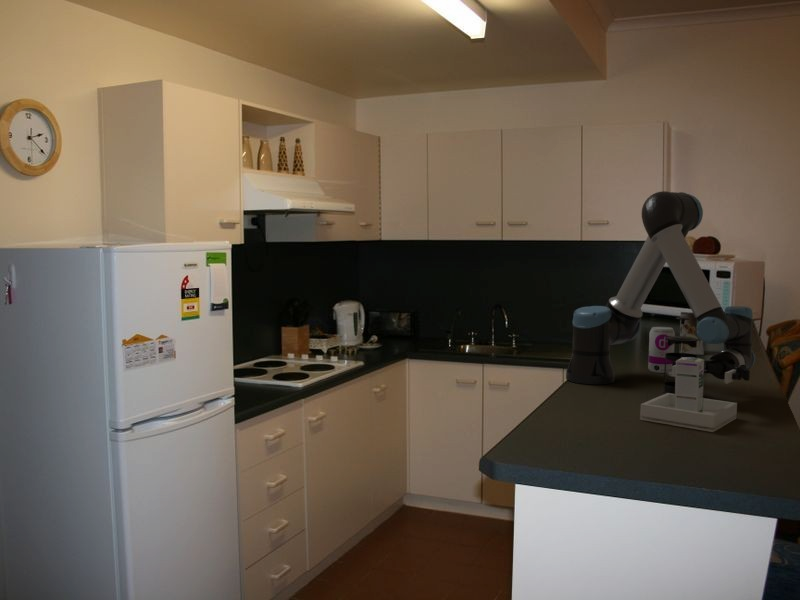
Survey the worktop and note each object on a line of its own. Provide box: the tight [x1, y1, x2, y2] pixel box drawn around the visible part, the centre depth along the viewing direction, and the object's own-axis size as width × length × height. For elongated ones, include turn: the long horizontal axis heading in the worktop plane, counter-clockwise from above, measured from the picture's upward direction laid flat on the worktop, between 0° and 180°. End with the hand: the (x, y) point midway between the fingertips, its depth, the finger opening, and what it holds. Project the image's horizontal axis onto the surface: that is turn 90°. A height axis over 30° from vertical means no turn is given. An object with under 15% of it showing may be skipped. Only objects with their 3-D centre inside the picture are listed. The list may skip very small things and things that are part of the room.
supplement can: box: [647, 326, 676, 374], centre depth 258 cm, size 8×8×15 cm
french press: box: [662, 316, 699, 395], centre depth 219 cm, size 12×9×23 cm
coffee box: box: [678, 311, 705, 356], centre depth 297 cm, size 9×6×16 cm
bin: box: [639, 393, 738, 433], centre depth 192 cm, size 18×18×4 cm
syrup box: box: [674, 357, 705, 413], centre depth 191 cm, size 6×6×14 cm
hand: (698, 374), depth 196 cm, fingers open, 13 cm apart
